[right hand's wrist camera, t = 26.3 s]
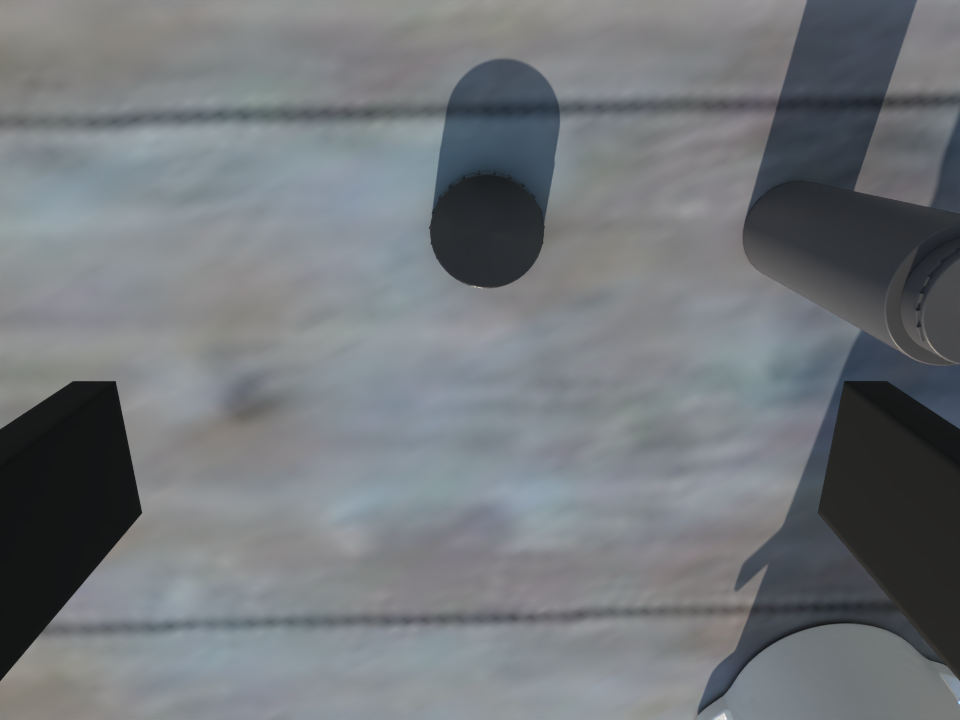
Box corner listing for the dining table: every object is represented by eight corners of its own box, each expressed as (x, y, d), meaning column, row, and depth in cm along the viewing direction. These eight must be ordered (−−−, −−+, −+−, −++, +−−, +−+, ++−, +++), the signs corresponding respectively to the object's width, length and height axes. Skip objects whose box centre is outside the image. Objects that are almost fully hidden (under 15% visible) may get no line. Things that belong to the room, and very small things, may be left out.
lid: (428, 279, 38) (426, 286, 37) (432, 166, 36) (430, 169, 35) (537, 286, 38) (539, 293, 37) (547, 173, 36) (550, 176, 35)
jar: (823, 162, 36) (1052, 196, 22) (853, 251, 38) (1085, 337, 23) (728, 210, 37) (887, 274, 22) (761, 295, 38) (930, 404, 24)
